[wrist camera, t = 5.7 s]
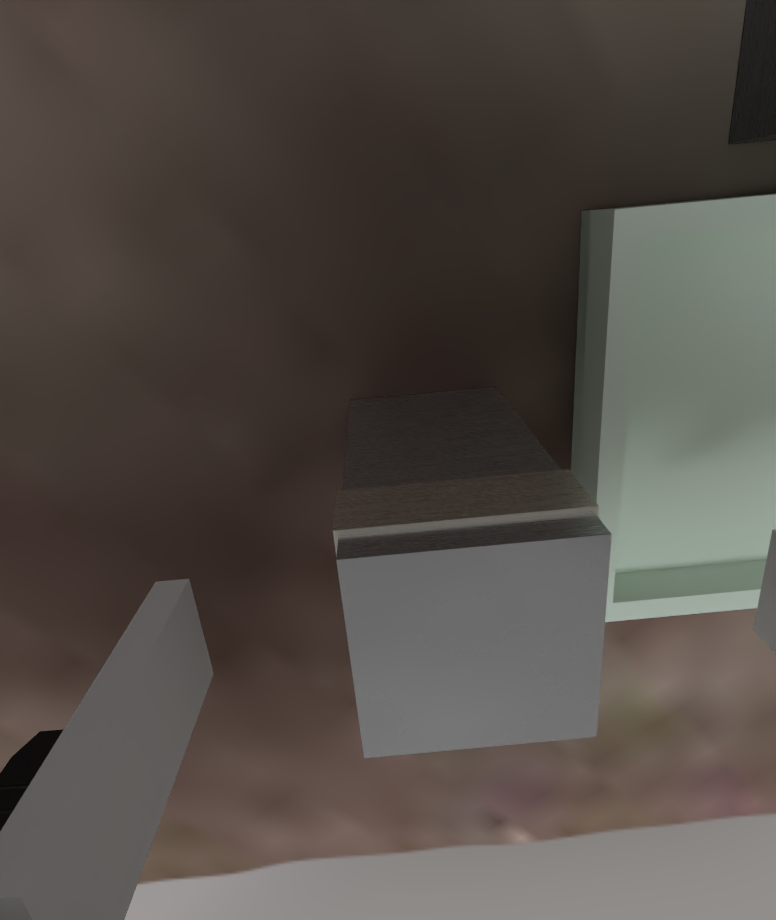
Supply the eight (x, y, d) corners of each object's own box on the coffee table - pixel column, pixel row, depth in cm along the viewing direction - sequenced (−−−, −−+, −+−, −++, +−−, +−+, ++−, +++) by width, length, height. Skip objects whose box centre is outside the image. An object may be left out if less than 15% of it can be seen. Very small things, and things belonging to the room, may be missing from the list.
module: (362, 530, 22) (360, 762, 12) (346, 397, 20) (329, 555, 10) (500, 517, 22) (600, 739, 12) (498, 383, 20) (617, 529, 10)
